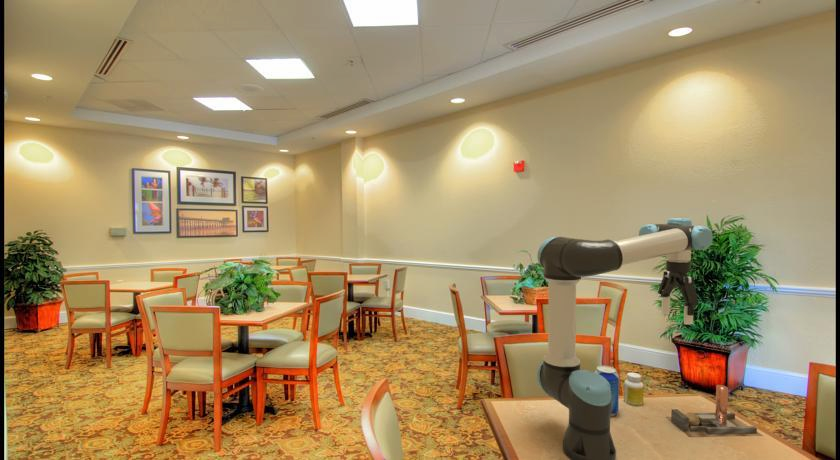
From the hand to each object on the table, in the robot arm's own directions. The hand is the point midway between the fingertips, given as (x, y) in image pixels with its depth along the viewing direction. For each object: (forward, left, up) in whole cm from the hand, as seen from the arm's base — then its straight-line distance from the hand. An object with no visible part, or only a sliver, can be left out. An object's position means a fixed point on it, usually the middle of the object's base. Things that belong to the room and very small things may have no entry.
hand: (676, 319), depth 154 cm
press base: (+4, -14, -34) cm, 37 cm away
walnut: (-3, -14, -33) cm, 36 cm away
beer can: (-26, -1, -34) cm, 43 cm away
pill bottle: (-13, +4, -34) cm, 37 cm away
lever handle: (+5, -14, -32) cm, 36 cm away
